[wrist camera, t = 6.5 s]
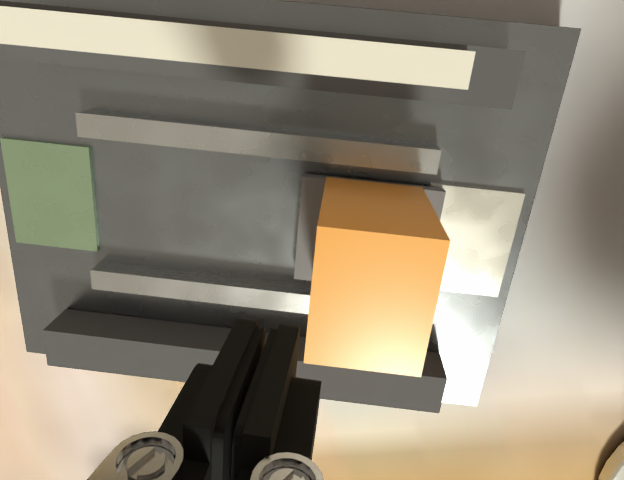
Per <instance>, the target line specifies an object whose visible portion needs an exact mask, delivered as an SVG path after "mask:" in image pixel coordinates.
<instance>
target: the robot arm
mask: <svg viewBox="0 0 624 480" xmlns="http://www.w3.org/2000/svg"><path fill="white" fill-rule="evenodd" d="M299 339H300V327H298V326H291V325H284V324H279V327H278V329H273V328H271V329H270V332H269V335H268V337H267V340H266V343H265V327H259V323H258V321H255V320H248V319H241V318H237V319H236V321H235V323H234V325H233V327H232V329H231V331H230V333H229V335H228V337H227V339H226V340H225V342H224V344H223V346H222V348H221V350H220V352H219V354H218V356H217V358H216V360H215V362H214V364H213V365H209V364H202V363H198V364H196V366H195V367H194V369H193V370H192V372H191V374H190V376H189V377H188V379H187V381H186V383H185V384H184V386H183V388H182V390H181V392H180V393H179V395H178V397H177V399H176V400H175V402H174V404H173V406H172V407H171V409H170V411H169V413H168V414H167V416H166V418H165V420H164V421H163V423H162V425H161V427H160V428H159V430H158V432H156V431H154V432H143V433H140V434H137V435H133V436H131V437H129V438H127V439H126V440H124V441H122V442H121V443H120V444H119V445H118V446H116V447H115V448H114V449H113V450H112V452H111V453H110V454H109V455H108V456H107V457H106V458H105V460H104V461H103V462H102V463H101V464H100V465H99V466H98V468H97V469H96V470H95V471H94V472H93V473H92V474H91V476H90V477H89V478H88V479H87V480H324V479H323V475H322V472H321V471H320V469H319V468H318V466H317V465H316V464H315V463H314V462H312V461H311V460H312V453H313V446H314V439H315V431H316V424H317V416H318V408H319V400H320V392H321V383H322V381H318V380H311V379H305V378H298V377H296V370H297V359H298V349H299ZM264 345H265V346H264ZM598 480H624V441H623V442H622V443H621V444H620V445H619V446H618V447H617V448H616V450H615V451H614V452H613V454H612V455H611V456H610V457H609V459H608V460H607V461H606V463H605V465H604V467H603V469H602V471H601V473H600V475H599V479H598Z"/></svg>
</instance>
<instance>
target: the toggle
mask: <svg viewBox="0 0 624 480" xmlns="http://www.w3.org/2000/svg"><path fill="white" fill-rule="evenodd" d="M445 194H446V191H445V190H444V188H438V187H429V186H420V185H410V184H401V183H391V182H382V181H373V180H363V179H354V178H344V177H335V176H325V175H316V174H307V173H303V176H302V186H301V198H300V210H299V222H298V234H297V246H296V258H295V270H294V279H300V280H308V281H312V283H311V293H310V303H309V313H308V323H307V333H306V343H305V353H304V363H306V364H315V365H323V366H331V367H340V368H348V369H356V370H365V371H373V372H381V373H390V374H398V375H406V376H415V377H421V375H422V371H423V366H424V361H425V357H426V352H427V347H428V343H429V338H430V333H431V329H432V324H433V319H434V315H435V310H436V305H437V301H438V296H439V291H440V287H441V282H442V277H443V273H444V268H445V263H446V259H447V254H448V250H449V245H450V239H449V237H448V235H447V233H446V231H445V230H444V228H443V226H442V224H441V222H440V219H441V214H442V209H443V204H444V199H445Z"/></svg>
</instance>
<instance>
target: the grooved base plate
mask: <svg viewBox="0 0 624 480" xmlns="http://www.w3.org/2000/svg"><path fill="white" fill-rule="evenodd" d="M0 44H2V50H3V57H4V59H9V60H19V61H29V62H39V63H49V64H59V65H69V66H79V67H89V68H99V69H109V70H119V71H129V72H139V73H149V74H159V75H169V76H179V77H189V78H199V79H209V80H219V81H229V82H239V83H249V84H259V85H269V86H279V87H289V88H299V89H309V90H319V91H329V92H339V93H349V94H359V95H369V96H379V97H389V98H399V99H409V100H419V101H429V102H439V103H449V104H459V105H469V106H479V107H489V108H499V109H509V110H512V107H513V103H514V99H515V95H516V91H517V87H518V83H519V78H520V74H521V70H522V66H523V62H524V58H525V53H526V51H523V50H512V49H502V48H492V47H481V46H471V45H460V44H450V43H439V42H429V41H418V40H408V39H398V38H387V37H377V36H366V35H356V34H345V33H335V32H324V31H314V30H304V29H293V28H283V27H272V26H262V25H251V24H241V23H230V22H220V21H210V20H199V19H189V18H178V17H168V16H157V15H147V14H136V13H126V12H116V11H105V10H95V9H84V8H74V7H63V6H53V5H42V4H32V3H22V2H11V1H1V0H0ZM231 329H232V328H224V327H215V326H207V325H198V324H190V323H181V322H173V321H165V320H156V319H148V318H139V317H131V316H122V315H114V314H105V313H97V312H88V311H80V310H71V309H65V310H64V311H63V312H62V313H61V314H60V315H59V316H58V317H57V318H55V319H54V320H53V321H52V322H51V323H50V324H49V325H48V326H47V327H46V328H45V329H43V336H44V343H45V350H46V357H47V364H48V365H50V366H58V367H66V368H74V369H83V370H91V371H99V372H107V373H115V374H123V375H132V376H140V377H148V378H156V379H164V380H172V381H180V382H186V381H187V379H188V377H189V376H190V374H191V372H192V370H193V369H194V367H195V366H196V364H198V363H202V364H209V365H213V364H214V362H215V360H216V358H217V356H218V354H219V352H220V350H221V348H222V346H223V344H224V342H225V340H226V339H227V337H228V335H229V333H230V331H231ZM268 335H269V333H266V332H265V343H266V340H267V337H268ZM305 343H306V337H300V339H299V349H298V359H297V370H296V377H298V378H305V379H311V380H318V381H322V383H321V392H320V399H327V400H336V401H344V402H352V403H360V404H368V405H376V406H385V407H393V408H401V409H409V410H417V411H425V412H434V413H439V411H440V407H441V403H442V399H443V395H444V391H445V386H446V382H447V376H446V373H445V369H444V366H443V362H442V359H441V356H440V353H435V352H426V357H425V361H424V366H423V371H422V375H421V377H415V376H406V375H398V374H390V373H381V372H373V371H365V370H356V369H348V368H340V367H331V366H323V365H315V364H306V363H304V353H305ZM264 346H265V345H264Z"/></svg>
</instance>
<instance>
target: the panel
mask: <svg viewBox="0 0 624 480" xmlns="http://www.w3.org/2000/svg"><path fill="white" fill-rule="evenodd" d="M1 1H11V2H22V3H32V4H42V5H53V6H63V7H74V8H84V9H95V10H105V11H116V12H126V13H136V14H147V15H157V16H168V17H178V18H189V19H199V20H210V21H220V22H230V23H241V24H251V25H262V26H272V27H283V28H293V29H304V30H314V31H324V32H335V33H345V34H356V35H366V36H377V37H387V38H398V39H408V40H418V41H429V42H439V43H450V44H460V45H471V46H481V47H492V48H502V49H512V50H523V51H526V53H525V58H524V62H523V66H522V70H521V74H520V78H519V83H518V87H517V91H516V95H515V99H514V103H513V107H512V110H509V109H499V108H489V107H479V106H469V105H459V104H449V103H439V102H429V101H419V100H409V99H399V98H389V97H379V96H369V95H359V94H349V93H339V92H329V91H319V90H309V89H299V88H289V87H279V86H269V85H259V84H249V83H239V82H229V81H219V80H209V79H199V78H189V77H179V76H169V75H159V74H149V73H139V72H129V71H119V70H109V69H99V68H89V67H79V66H69V65H59V64H49V63H39V62H29V61H19V60H9V59H4V57H3V50H2V44H0V188H1V195H2V201H3V207H4V213H5V219H6V226H7V232H8V238H9V244H10V250H11V257H12V263H13V269H14V275H15V282H16V288H17V294H18V300H19V306H20V313H21V319H22V325H23V331H24V337H25V344H26V350H27V352H34V353H42V354H46V350H45V343H44V336H43V329H45V328H46V327H47V326H48V325H49V324H50V323H51V322H52V321H53V320H54V319H55V318H57V317H58V316H59V315H60V314H61V313H62V312H63V311H64V310H65V309H71V310H80V311H88V312H97V313H105V314H114V315H122V316H131V317H139V318H148V319H156V320H165V321H173V322H181V323H190V324H198V325H207V326H215V327H224V328H232V327H233V325H234V323H235V321H236V319H237V318H241V319H248V320H255V321H258V323H259V327H265V332H266V333H269V332H270V329H271V328H273V329H278V327H279V324H284V325H291V326H298V327H300V337H306V333H307V323H308V313H309V303H310V293H311V283H312V281H308V280H300V279H294V270H295V258H296V246H297V234H298V222H299V210H300V198H301V186H302V176H303V173H307V174H316V175H325V176H335V177H344V178H354V179H363V180H373V181H382V182H391V183H401V184H410V185H420V186H429V187H438V188H444V190H445V191H446V194H445V199H444V204H443V209H442V214H441V219H440V222H441V224H442V226H443V228H444V230H445V231H446V233H447V235H448V237H449V239H450V245H449V250H448V254H447V259H446V263H445V268H444V273H443V277H442V282H441V287H440V291H439V296H438V301H437V305H436V310H435V315H434V319H433V324H432V329H431V333H430V338H429V343H428V347H427V352H435V353H440V356H441V359H442V362H443V366H444V369H445V373H446V376H447V382H446V386H445V391H444V395H443V399H442V402H445V403H453V404H461V405H470V406H477V404H478V401H479V397H480V393H481V390H482V386H483V383H484V379H485V375H486V372H487V368H488V364H489V361H490V357H491V354H492V350H493V346H494V343H495V339H496V335H497V332H498V328H499V325H500V321H501V317H502V314H503V310H504V307H505V303H506V299H507V296H508V292H509V288H510V285H511V281H512V278H513V274H514V270H515V267H516V263H517V259H518V256H519V252H520V249H521V245H522V241H523V238H524V234H525V230H526V227H527V223H528V220H529V216H530V212H531V209H532V205H533V201H534V198H535V194H536V191H537V187H538V183H539V180H540V176H541V173H542V169H543V165H544V162H545V158H546V154H547V151H548V147H549V144H550V140H551V136H552V133H553V129H554V125H555V122H556V118H557V115H558V111H559V107H560V104H561V100H562V96H563V93H564V89H565V86H566V82H567V78H568V75H569V71H570V67H571V64H572V60H573V57H574V53H575V49H576V46H577V42H578V39H579V35H580V31H581V29H580V28H569V27H558V26H548V25H537V24H527V23H516V22H505V21H495V20H484V19H473V18H463V17H452V16H441V15H431V14H420V13H409V12H399V11H388V10H377V9H367V8H356V7H345V6H335V5H324V4H313V3H303V2H292V1H281V0H1Z"/></svg>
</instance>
